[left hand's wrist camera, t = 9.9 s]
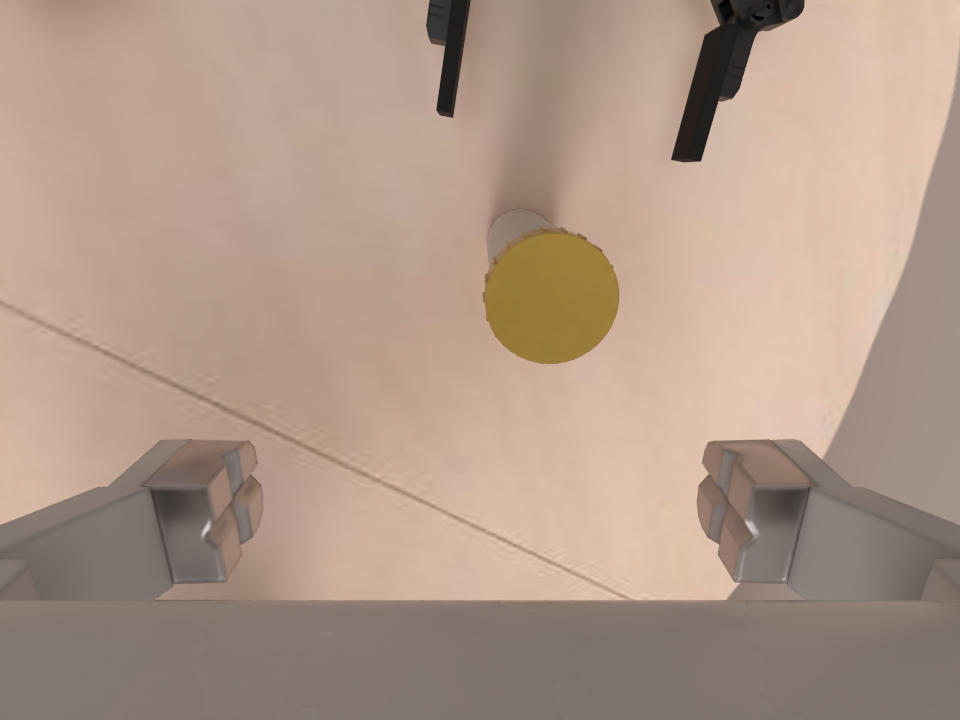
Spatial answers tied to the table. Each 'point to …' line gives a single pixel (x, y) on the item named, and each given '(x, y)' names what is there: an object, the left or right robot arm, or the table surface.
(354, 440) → the table surface
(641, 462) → the table surface
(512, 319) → the lid
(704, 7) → the table surface
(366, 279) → the table surface
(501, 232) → the grey cylinder
